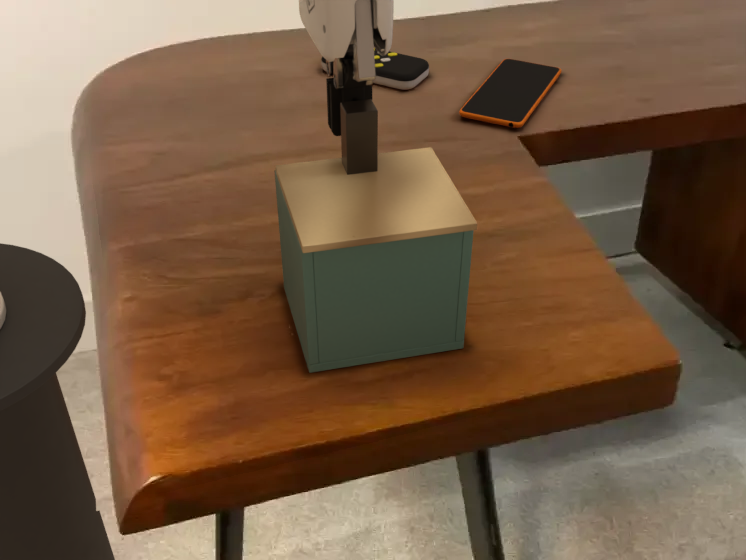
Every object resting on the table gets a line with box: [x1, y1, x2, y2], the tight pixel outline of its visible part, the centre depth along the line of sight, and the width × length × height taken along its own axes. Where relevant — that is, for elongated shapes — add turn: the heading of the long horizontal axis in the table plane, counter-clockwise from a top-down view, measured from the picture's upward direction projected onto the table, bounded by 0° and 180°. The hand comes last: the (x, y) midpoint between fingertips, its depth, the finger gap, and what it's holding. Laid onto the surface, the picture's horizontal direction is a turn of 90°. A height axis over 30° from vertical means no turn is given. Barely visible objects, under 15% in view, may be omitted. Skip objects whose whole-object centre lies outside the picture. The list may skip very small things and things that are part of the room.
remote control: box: [320, 47, 430, 91], centre depth 111 cm, size 6×13×2 cm, turn 62°
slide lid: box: [274, 98, 478, 253], centre depth 66 cm, size 13×12×6 cm
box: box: [274, 170, 475, 373], centre depth 72 cm, size 13×12×11 cm
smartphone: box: [458, 58, 562, 129], centre depth 107 cm, size 8×17×1 cm, turn 156°
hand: (350, 129), depth 72 cm, fingers closed
